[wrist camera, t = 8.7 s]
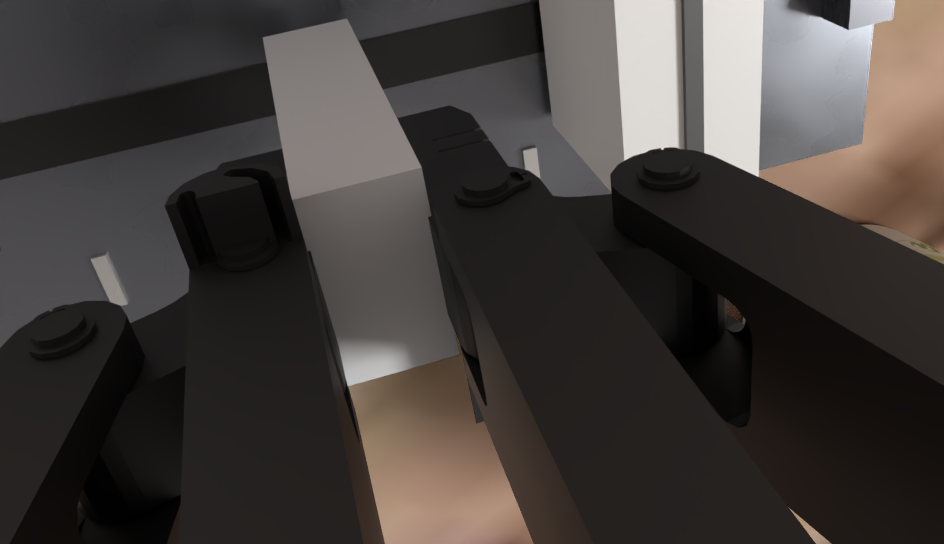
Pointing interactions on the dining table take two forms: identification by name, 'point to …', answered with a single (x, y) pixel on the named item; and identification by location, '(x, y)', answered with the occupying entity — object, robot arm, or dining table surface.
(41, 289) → the console
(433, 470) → the dining table surface
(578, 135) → the fader
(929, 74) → the dining table surface
